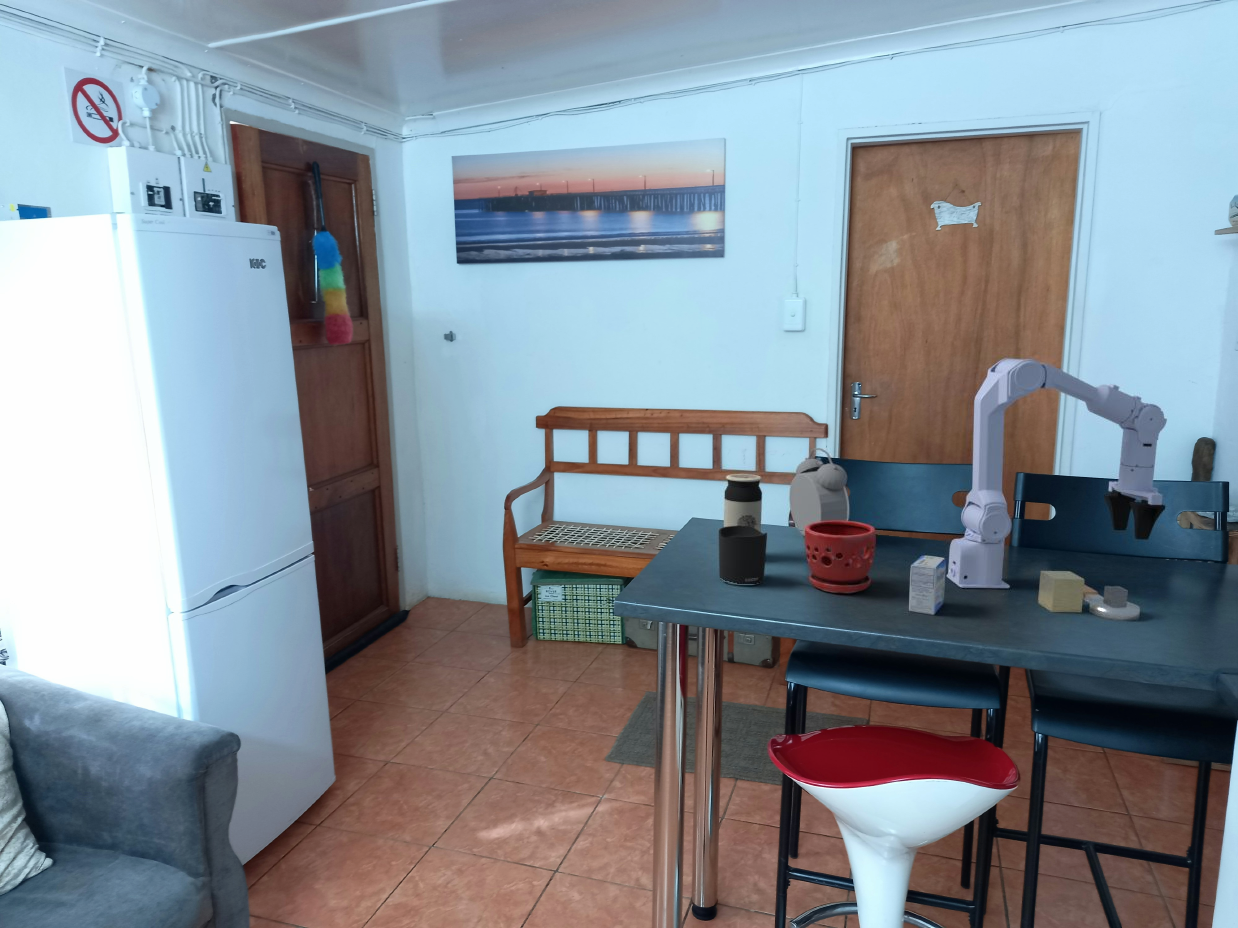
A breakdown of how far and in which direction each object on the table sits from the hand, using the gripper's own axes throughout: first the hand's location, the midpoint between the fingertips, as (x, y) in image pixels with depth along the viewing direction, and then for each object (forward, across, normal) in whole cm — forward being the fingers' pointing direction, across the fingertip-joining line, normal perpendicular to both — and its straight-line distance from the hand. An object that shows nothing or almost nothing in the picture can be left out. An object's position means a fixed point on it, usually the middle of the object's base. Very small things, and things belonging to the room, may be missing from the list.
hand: (1130, 534), depth 166 cm
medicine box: (+10, -16, +44) cm, 48 cm away
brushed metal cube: (+10, -15, +20) cm, 27 cm away
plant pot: (+10, -4, +57) cm, 58 cm away
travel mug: (+10, +17, +73) cm, 76 cm away
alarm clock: (+10, +35, +53) cm, 64 cm away
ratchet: (+10, -13, +12) cm, 20 cm away
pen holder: (+10, 0, +75) cm, 76 cm away
